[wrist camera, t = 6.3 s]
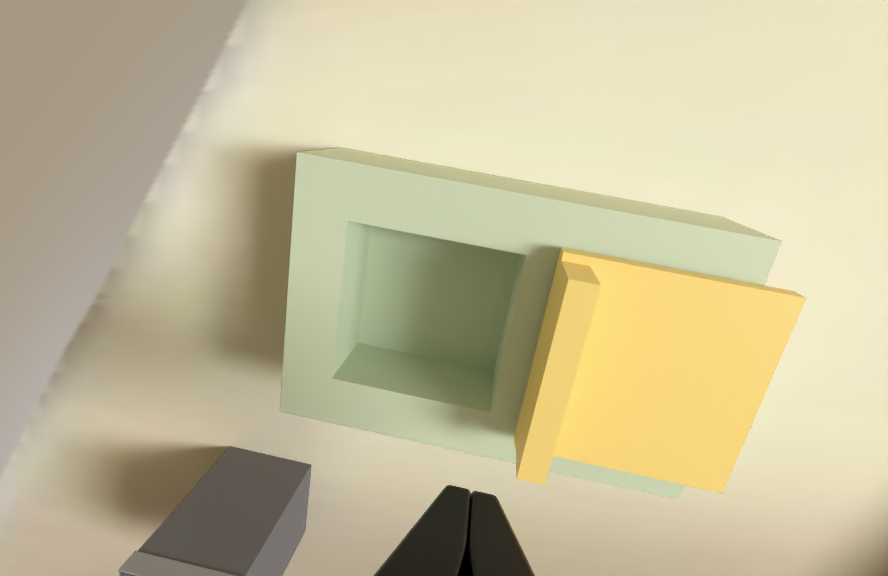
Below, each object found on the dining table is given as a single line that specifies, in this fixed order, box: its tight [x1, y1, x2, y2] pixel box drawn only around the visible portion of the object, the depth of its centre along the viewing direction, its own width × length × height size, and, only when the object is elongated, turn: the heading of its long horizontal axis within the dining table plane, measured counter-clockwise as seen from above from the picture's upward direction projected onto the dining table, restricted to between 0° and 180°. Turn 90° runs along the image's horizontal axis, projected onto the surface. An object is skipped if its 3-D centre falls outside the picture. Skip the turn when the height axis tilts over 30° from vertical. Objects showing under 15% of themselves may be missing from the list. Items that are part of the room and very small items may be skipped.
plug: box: [118, 446, 311, 576], centre depth 21 cm, size 4×4×7 cm
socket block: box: [280, 148, 782, 500], centre depth 17 cm, size 9×14×4 cm, turn 81°
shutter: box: [514, 247, 806, 493], centre depth 14 cm, size 6×6×2 cm
